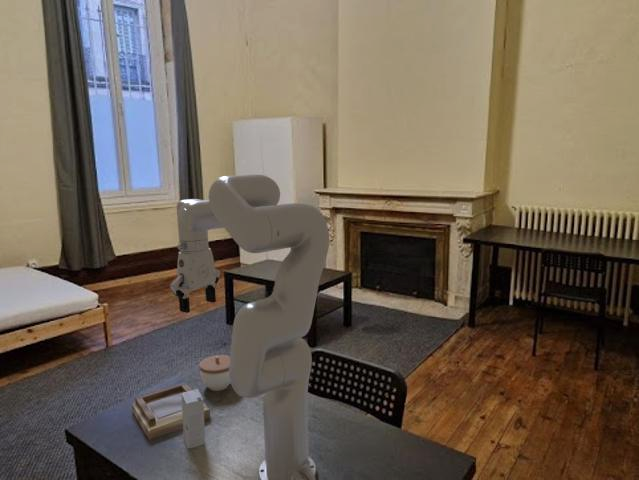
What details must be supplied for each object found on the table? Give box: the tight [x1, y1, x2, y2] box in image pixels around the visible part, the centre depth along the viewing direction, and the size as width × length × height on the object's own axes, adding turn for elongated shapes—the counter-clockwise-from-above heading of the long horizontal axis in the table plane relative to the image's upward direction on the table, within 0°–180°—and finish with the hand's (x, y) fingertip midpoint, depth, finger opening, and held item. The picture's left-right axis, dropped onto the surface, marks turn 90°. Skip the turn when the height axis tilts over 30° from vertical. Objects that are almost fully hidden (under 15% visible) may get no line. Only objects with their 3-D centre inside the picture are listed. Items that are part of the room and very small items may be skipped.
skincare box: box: [181, 388, 206, 450], centre depth 112 cm, size 6×4×12 cm
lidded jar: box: [198, 354, 231, 392], centre depth 139 cm, size 11×11×9 cm
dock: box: [131, 381, 211, 441], centre depth 124 cm, size 16×16×4 cm
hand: (198, 306), depth 125 cm, fingers open, 9 cm apart
